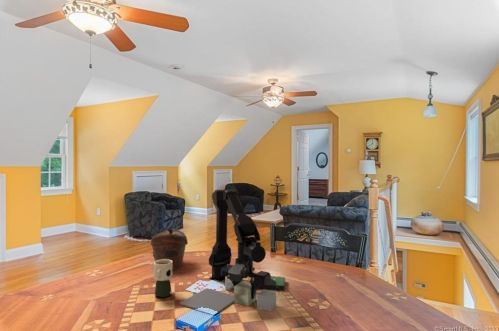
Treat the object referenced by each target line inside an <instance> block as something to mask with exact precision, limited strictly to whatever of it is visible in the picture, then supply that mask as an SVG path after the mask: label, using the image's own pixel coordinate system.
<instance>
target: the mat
mask: <svg viewBox="0 0 499 331" xmlns="http://www.w3.org/2000/svg"><path fill="white" fill-rule="evenodd" d="M234 303H235V302H234V294H230V293H228V292H223V291H220V290H215V289H211V288H208V287H207V288H204V289H202V290H201V291H199V292H197V293H195V294H193V295H191V296H189V297H188V298H186V299H184V300H182V301H180V302H179V303H178V305H179V306H182V307H186V308H188V309H191V310H195V309H198V308H201V307H203V308H209V309H212V310H214V311H217V312H219V313H221V312H223V311H224V310H225V309H227V308H228V307H230V306H231V305H232V304H234ZM195 311H196V310H195Z"/></svg>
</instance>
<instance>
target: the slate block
mask: <svg viewBox="0 0 499 331" xmlns="http://www.w3.org/2000/svg"><path fill="white" fill-rule="evenodd" d="M256 304H257V305H256V306H257V307H256V308H257V309H260V310H264V311H267V312H271V311H272V310H273V309H274V308H276V306H277V291H275V290H265V289H264V290H260V291H259V292H257V293H256Z"/></svg>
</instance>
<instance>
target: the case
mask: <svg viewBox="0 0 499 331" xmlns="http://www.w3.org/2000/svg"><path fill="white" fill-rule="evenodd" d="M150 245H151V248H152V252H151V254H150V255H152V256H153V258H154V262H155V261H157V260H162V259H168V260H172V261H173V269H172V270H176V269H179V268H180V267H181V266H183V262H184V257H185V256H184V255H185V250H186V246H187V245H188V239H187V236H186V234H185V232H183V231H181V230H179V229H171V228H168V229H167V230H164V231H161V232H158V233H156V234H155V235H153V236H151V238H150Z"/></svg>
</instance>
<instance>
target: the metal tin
mask: <svg viewBox="0 0 499 331" xmlns="http://www.w3.org/2000/svg"><path fill="white" fill-rule="evenodd" d="M227 277H228V276H227ZM227 277H226V276H225V280H224V289H225V291H228V292H234V285H233V283H232V281H231V280H229V279H227Z"/></svg>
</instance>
